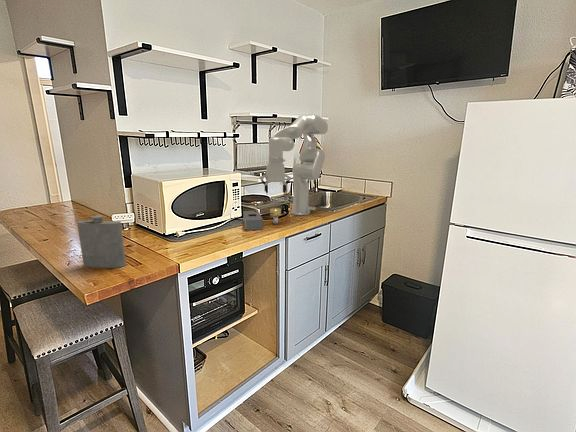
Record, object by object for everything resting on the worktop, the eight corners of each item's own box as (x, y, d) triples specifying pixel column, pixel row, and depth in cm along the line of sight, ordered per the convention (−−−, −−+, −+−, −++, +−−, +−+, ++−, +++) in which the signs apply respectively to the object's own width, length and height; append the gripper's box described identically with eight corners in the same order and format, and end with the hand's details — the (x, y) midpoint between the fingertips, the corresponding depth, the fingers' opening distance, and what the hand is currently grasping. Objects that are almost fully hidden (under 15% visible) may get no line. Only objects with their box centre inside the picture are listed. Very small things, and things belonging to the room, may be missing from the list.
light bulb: (279, 222, 191) (279, 207, 189) (281, 225, 185) (281, 210, 183) (269, 222, 189) (269, 208, 187) (271, 225, 184) (271, 210, 182)
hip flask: (127, 264, 129) (121, 214, 124) (122, 268, 125) (116, 217, 120) (87, 263, 129) (79, 214, 124) (80, 267, 125) (72, 216, 120)
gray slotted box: (258, 219, 195) (258, 210, 194) (263, 229, 176) (262, 219, 175) (243, 220, 193) (243, 211, 192) (246, 230, 174) (245, 220, 173)
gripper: (289, 160, 184) (289, 191, 188) (258, 160, 180) (258, 191, 184) (292, 161, 176) (292, 193, 180) (260, 161, 173) (260, 193, 177)
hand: (275, 192), depth 182 cm, fingers open, 9 cm apart
